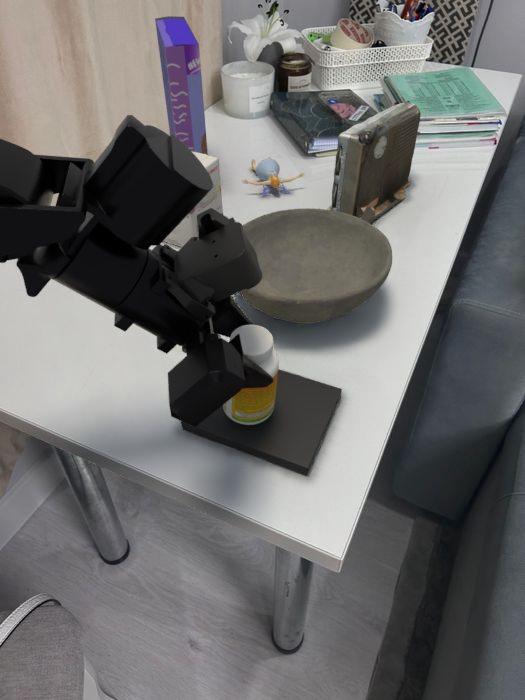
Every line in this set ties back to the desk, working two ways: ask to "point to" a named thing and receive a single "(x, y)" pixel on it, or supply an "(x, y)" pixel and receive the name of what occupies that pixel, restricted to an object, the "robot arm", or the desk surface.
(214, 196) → the ink box
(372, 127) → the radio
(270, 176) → the fairy figurine
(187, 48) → the cereal box
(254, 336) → the supplement bottle
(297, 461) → the scale
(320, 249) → the bowl
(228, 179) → the desk surface
